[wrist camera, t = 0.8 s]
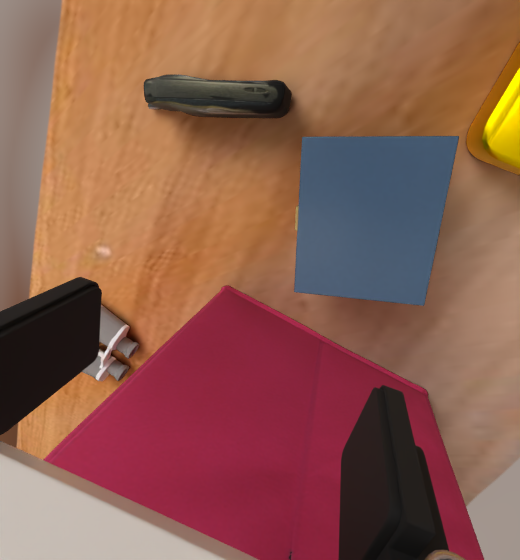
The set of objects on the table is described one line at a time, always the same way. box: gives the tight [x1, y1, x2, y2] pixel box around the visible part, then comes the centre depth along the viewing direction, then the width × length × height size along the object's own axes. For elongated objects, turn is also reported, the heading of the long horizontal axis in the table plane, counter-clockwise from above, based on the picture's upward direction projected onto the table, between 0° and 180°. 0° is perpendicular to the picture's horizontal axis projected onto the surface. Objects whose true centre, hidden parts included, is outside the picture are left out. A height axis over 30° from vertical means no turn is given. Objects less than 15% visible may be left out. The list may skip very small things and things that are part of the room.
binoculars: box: [82, 305, 139, 381], centre depth 46 cm, size 12×8×4 cm, turn 151°
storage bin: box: [44, 286, 484, 560], centre depth 31 cm, size 28×29×28 cm
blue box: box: [294, 136, 459, 306], centre depth 29 cm, size 13×11×8 cm
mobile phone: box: [144, 75, 292, 118], centre depth 31 cm, size 5×3×15 cm
